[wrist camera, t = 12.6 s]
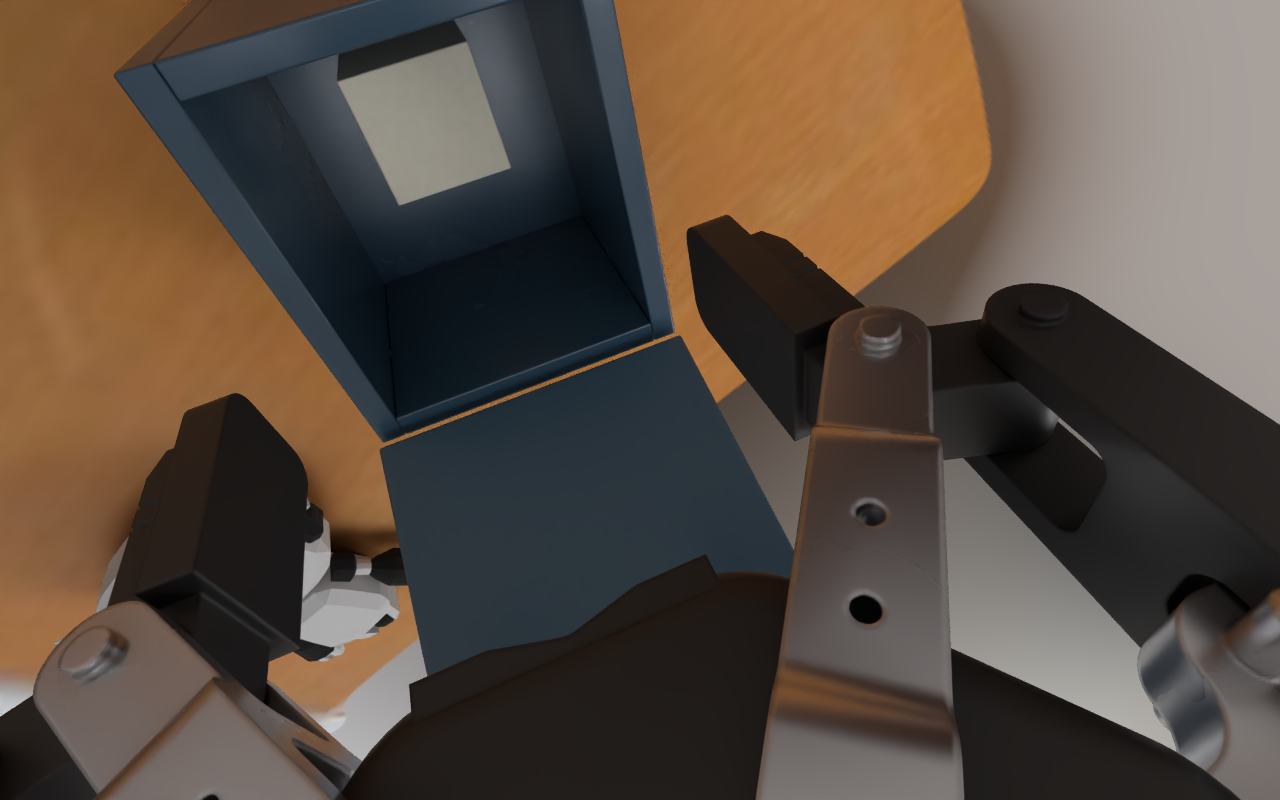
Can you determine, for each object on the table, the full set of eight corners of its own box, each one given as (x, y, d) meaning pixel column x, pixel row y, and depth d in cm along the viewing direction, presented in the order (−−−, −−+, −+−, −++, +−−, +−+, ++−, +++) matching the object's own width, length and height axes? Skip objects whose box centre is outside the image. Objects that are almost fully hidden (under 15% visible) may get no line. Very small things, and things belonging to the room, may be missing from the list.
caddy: (196, -5, 19) (110, 74, 12) (517, -96, 21) (601, -69, 14) (374, 294, 27) (383, 443, 21) (597, 217, 29) (676, 333, 22)
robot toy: (456, 521, 40) (219, 426, 29) (470, 581, 37) (211, 501, 26) (326, 625, 42) (59, 574, 31) (329, 689, 39) (34, 659, 28)
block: (337, 50, 21) (335, 81, 18) (452, 15, 21) (467, 40, 18) (393, 164, 24) (398, 206, 21) (492, 131, 24) (511, 168, 21)
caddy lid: (473, 902, 14) (484, 894, 15) (879, 710, 15) (870, 711, 16) (378, 448, 20) (389, 457, 21) (680, 333, 21) (680, 346, 22)
